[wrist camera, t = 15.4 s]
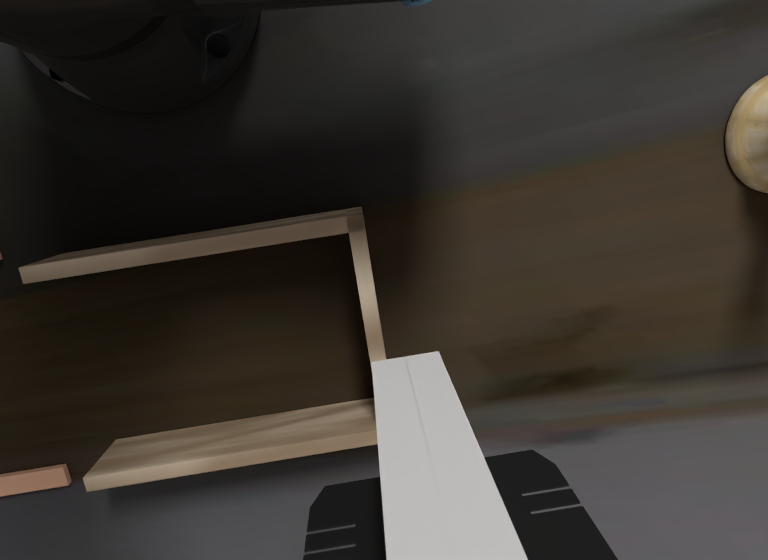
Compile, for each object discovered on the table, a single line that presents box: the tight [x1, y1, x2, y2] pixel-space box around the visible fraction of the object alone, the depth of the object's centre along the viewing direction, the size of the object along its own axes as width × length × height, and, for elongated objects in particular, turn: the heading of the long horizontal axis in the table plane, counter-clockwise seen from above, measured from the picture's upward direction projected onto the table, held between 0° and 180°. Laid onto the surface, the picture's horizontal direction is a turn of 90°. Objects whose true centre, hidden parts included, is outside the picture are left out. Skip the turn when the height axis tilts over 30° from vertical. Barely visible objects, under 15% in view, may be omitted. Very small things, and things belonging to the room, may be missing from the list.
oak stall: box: [19, 207, 386, 492], centre depth 37 cm, size 15×20×5 cm
